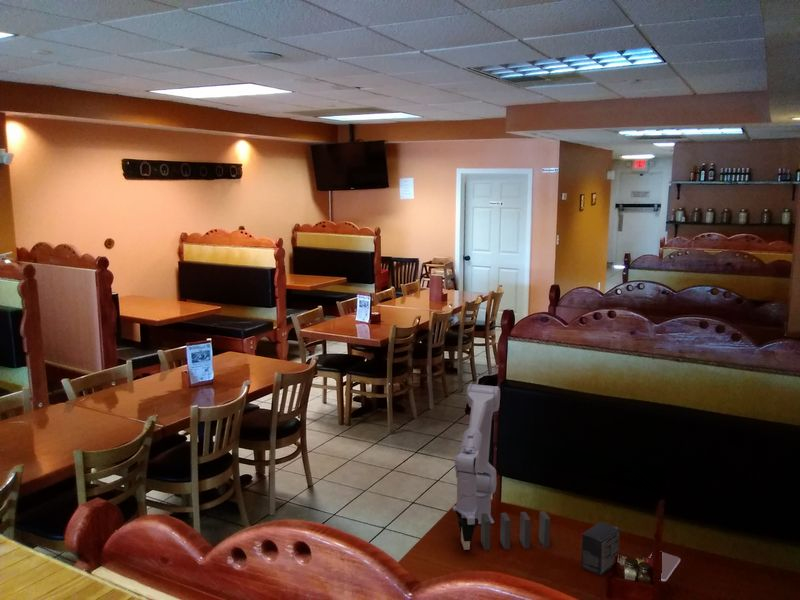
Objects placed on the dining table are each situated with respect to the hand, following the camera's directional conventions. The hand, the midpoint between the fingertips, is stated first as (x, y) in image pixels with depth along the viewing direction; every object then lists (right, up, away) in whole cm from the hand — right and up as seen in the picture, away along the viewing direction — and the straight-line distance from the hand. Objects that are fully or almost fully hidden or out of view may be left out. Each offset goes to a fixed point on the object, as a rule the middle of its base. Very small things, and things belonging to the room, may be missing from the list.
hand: (465, 535), depth 194 cm
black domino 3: (+12, -3, +2) cm, 12 cm away
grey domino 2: (+18, -3, +2) cm, 18 cm away
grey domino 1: (+6, -3, +1) cm, 7 cm away
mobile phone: (+54, -6, -9) cm, 55 cm away
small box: (+37, -5, -9) cm, 38 cm away
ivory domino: (0, -3, 0) cm, 3 cm away
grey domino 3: (+24, -3, +3) cm, 24 cm away
